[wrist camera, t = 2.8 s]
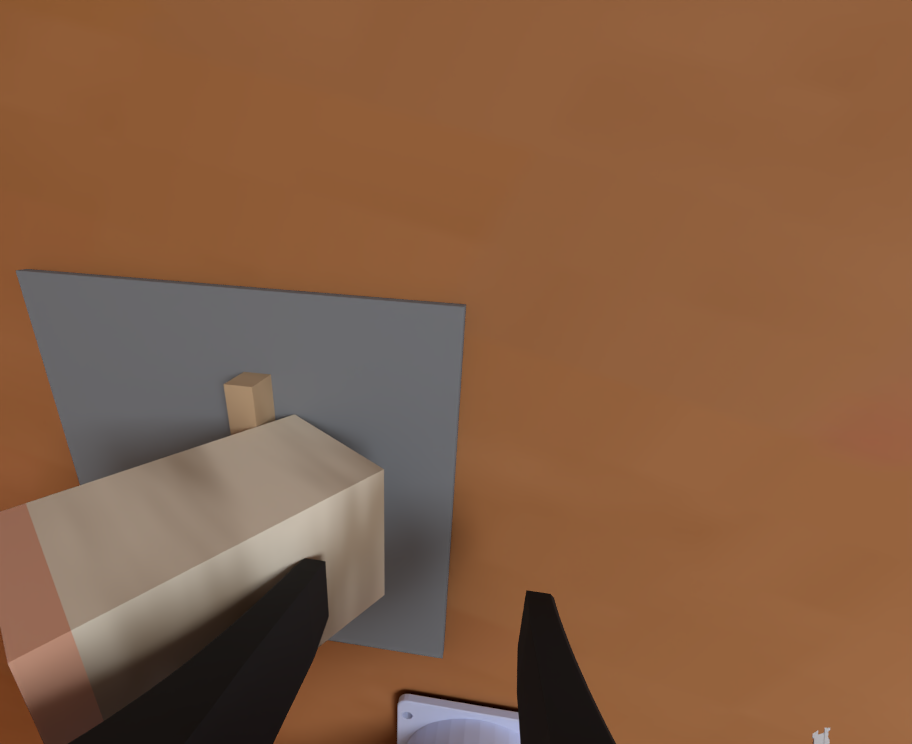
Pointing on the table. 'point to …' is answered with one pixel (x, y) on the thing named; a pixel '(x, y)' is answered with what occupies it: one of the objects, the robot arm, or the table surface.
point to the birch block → (177, 563)
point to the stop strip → (249, 401)
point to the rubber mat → (294, 392)
